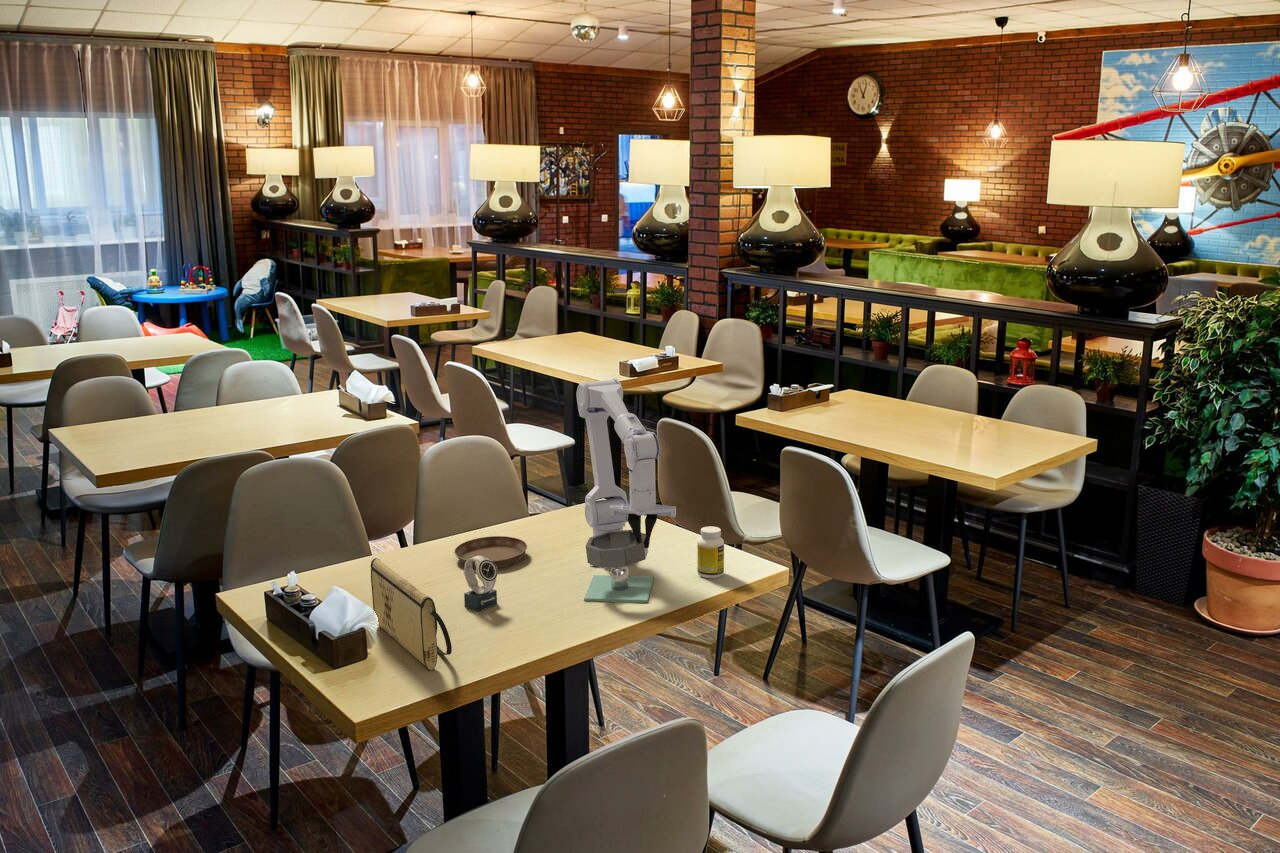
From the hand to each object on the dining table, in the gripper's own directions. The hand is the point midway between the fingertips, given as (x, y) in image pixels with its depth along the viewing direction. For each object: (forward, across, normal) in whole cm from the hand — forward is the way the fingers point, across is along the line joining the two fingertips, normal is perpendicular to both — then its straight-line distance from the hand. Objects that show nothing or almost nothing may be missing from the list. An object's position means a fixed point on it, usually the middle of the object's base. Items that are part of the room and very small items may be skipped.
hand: (643, 546), depth 236 cm
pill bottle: (+11, +14, +11) cm, 21 cm away
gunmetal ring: (+3, -6, 0) cm, 6 cm away
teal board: (+10, -6, 0) cm, 12 cm away
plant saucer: (+11, -40, +18) cm, 45 cm away
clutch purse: (+11, -43, -32) cm, 54 cm away
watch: (+11, -34, -11) cm, 38 cm away
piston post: (+10, -6, 0) cm, 12 cm away
